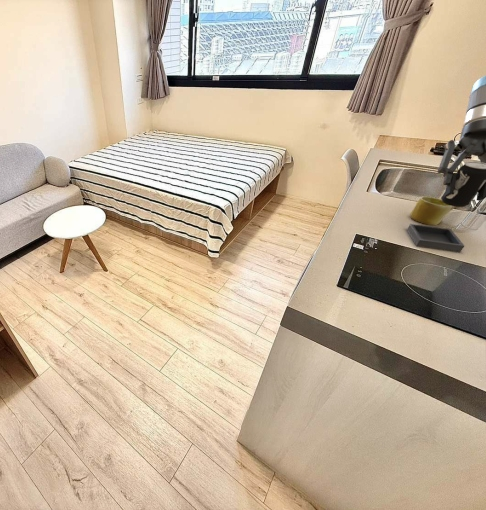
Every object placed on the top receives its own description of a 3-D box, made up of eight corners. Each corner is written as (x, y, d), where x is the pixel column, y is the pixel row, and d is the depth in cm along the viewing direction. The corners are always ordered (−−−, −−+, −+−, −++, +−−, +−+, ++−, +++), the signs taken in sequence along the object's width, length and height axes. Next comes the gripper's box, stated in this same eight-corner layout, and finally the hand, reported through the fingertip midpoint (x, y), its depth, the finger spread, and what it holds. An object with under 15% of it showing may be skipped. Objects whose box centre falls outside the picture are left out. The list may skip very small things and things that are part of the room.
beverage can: (433, 199, 88) (456, 162, 81) (452, 197, 89) (477, 160, 82) (454, 208, 83) (480, 169, 76) (474, 206, 84) (502, 167, 76)
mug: (420, 223, 99) (435, 196, 96) (399, 218, 109) (412, 193, 106) (456, 231, 99) (472, 203, 95) (432, 225, 108) (446, 200, 105)
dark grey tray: (445, 236, 96) (450, 228, 94) (459, 253, 88) (464, 246, 86) (405, 230, 100) (410, 223, 98) (415, 247, 92) (420, 239, 90)
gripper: (517, 134, 82) (500, 206, 81) (432, 131, 91) (415, 196, 89) (539, 118, 76) (522, 197, 74) (445, 116, 84) (428, 186, 82)
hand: (464, 196), depth 81 cm, fingers closed on beverage can, 6 cm apart
